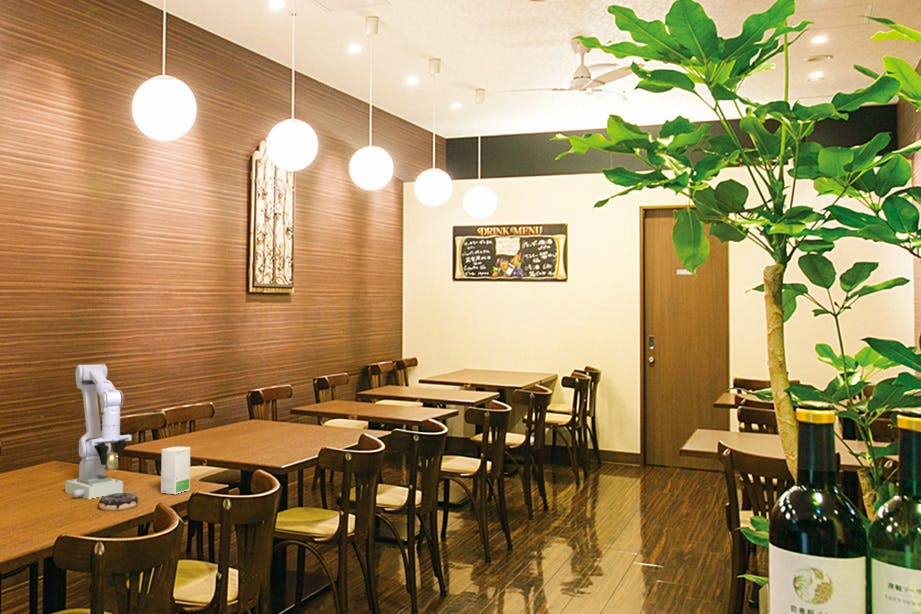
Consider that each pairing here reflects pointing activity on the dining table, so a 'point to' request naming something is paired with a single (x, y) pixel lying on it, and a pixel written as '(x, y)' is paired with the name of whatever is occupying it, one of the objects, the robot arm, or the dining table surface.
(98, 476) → the gearbox
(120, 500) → the donut
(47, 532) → the dining table surface
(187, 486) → the skincare box
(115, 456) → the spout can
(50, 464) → the dining table surface
